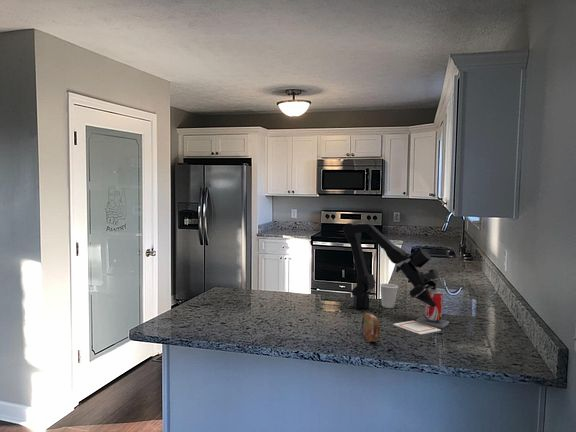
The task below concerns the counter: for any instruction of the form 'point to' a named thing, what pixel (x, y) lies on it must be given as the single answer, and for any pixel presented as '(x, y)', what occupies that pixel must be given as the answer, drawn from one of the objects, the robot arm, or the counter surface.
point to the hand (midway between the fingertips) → (437, 305)
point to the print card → (417, 327)
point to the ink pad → (432, 322)
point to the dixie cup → (388, 295)
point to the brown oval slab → (370, 327)
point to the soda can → (436, 311)
